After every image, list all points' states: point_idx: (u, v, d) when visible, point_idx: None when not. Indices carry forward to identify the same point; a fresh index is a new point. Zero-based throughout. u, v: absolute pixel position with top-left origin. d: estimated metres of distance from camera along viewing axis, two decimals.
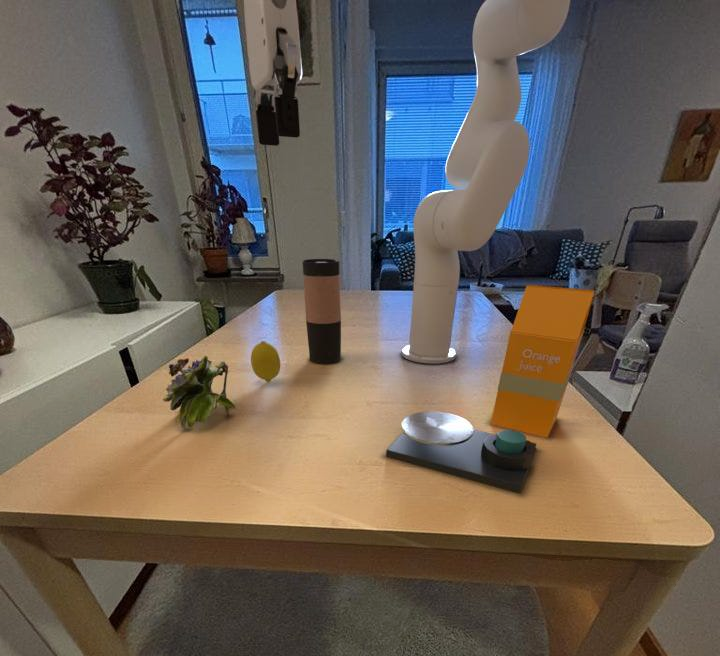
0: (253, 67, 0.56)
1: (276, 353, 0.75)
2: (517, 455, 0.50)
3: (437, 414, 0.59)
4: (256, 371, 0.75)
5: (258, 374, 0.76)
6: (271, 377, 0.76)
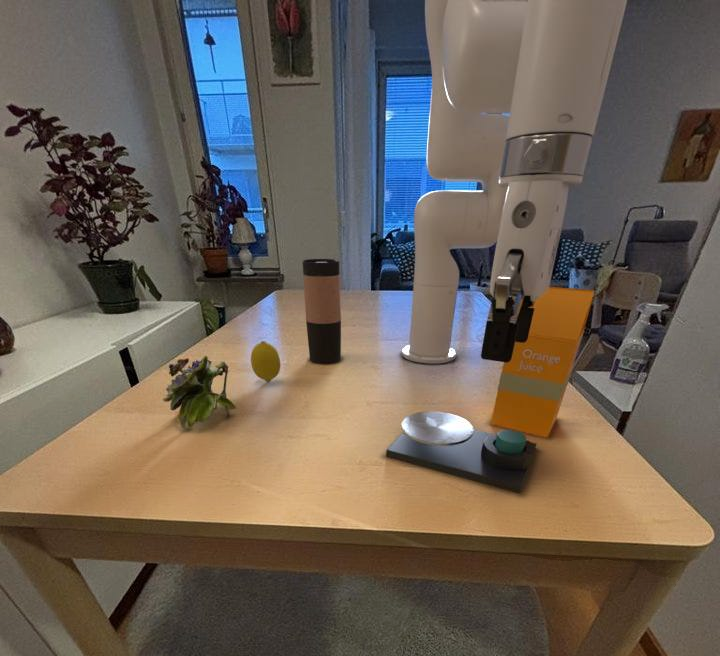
0: None
1: (276, 353, 0.75)
2: (517, 455, 0.50)
3: (437, 414, 0.59)
4: (256, 371, 0.75)
5: (258, 374, 0.76)
6: (271, 377, 0.76)
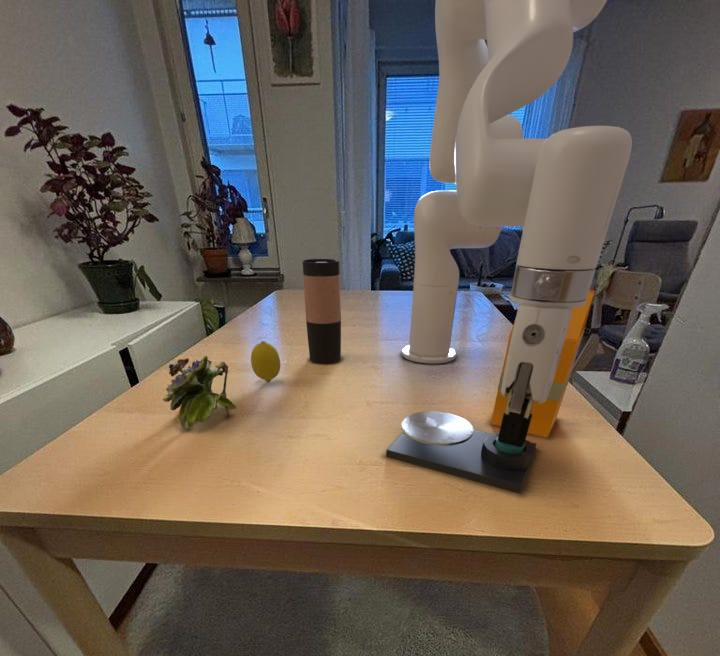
0: None
1: (276, 353, 0.75)
2: (517, 455, 0.50)
3: (437, 414, 0.59)
4: (256, 371, 0.75)
5: (258, 374, 0.76)
6: (271, 377, 0.76)
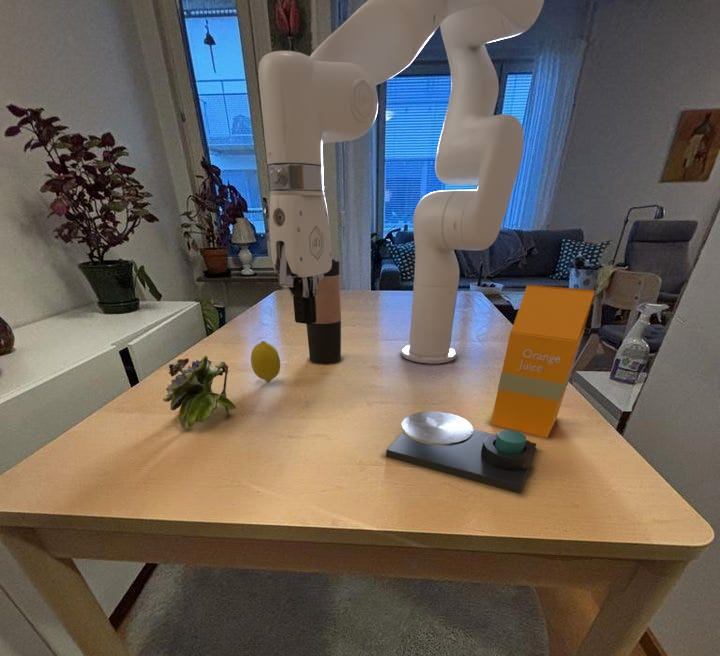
0: None
1: (276, 353, 0.75)
2: (517, 455, 0.50)
3: (437, 414, 0.59)
4: (256, 371, 0.75)
5: (258, 374, 0.76)
6: (271, 377, 0.76)
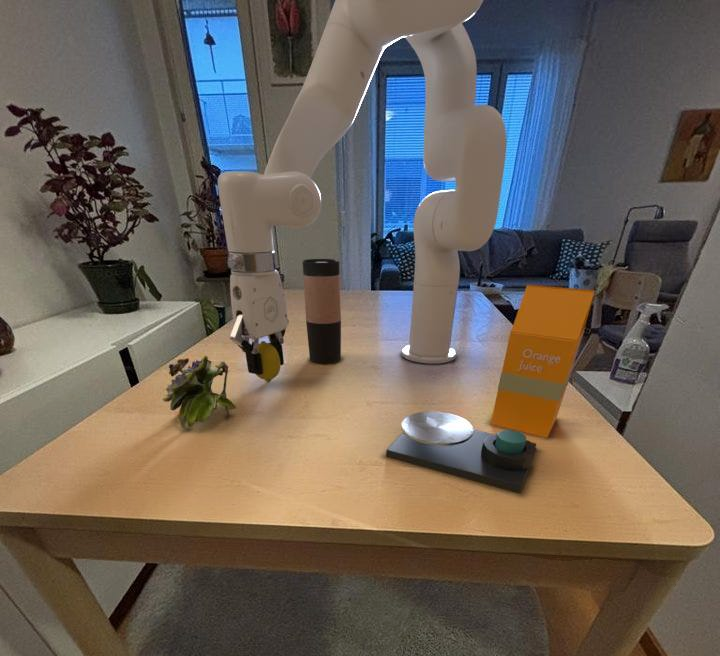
0: None
1: (276, 353, 0.75)
2: (517, 455, 0.50)
3: (437, 414, 0.59)
4: None
5: None
6: (271, 377, 0.76)
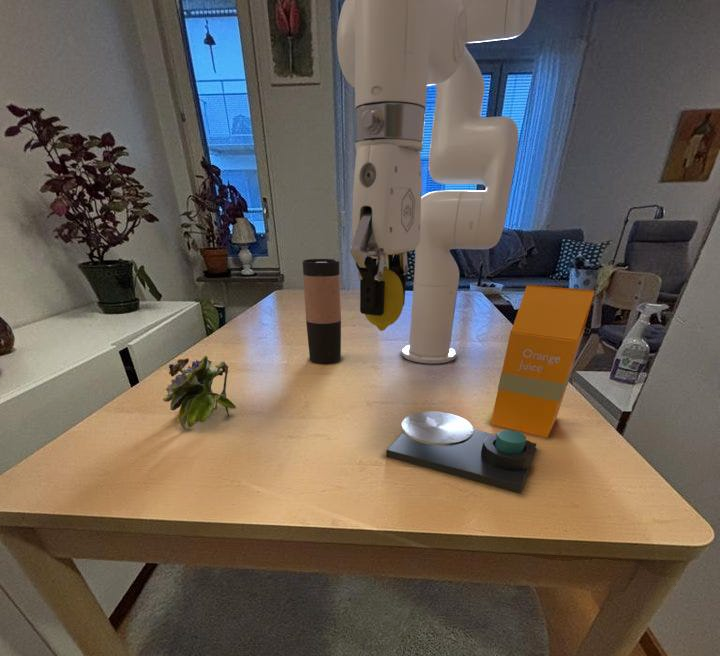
0: None
1: (401, 285, 0.51)
2: (517, 455, 0.50)
3: (437, 414, 0.59)
4: None
5: (373, 316, 0.52)
6: (390, 322, 0.53)
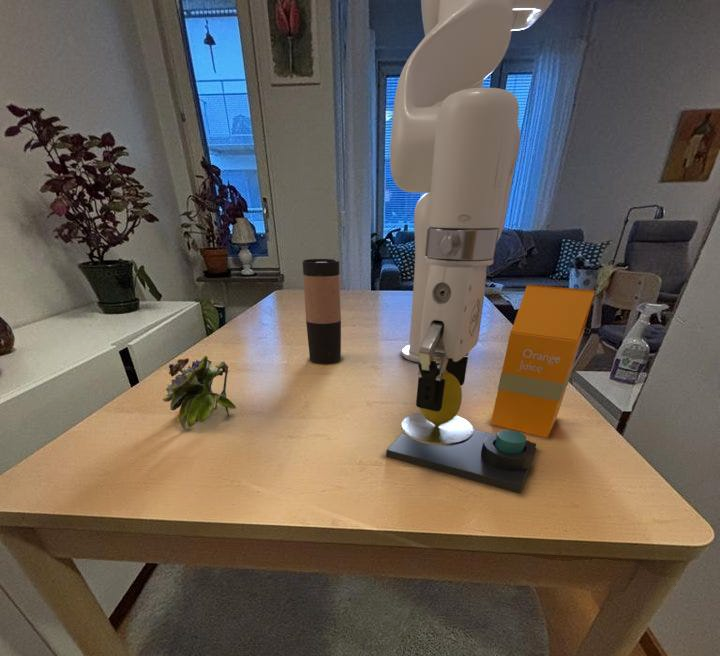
0: None
1: (460, 387, 0.52)
2: (517, 455, 0.50)
3: None
4: (431, 413, 0.52)
5: (432, 417, 0.52)
6: (448, 420, 0.53)
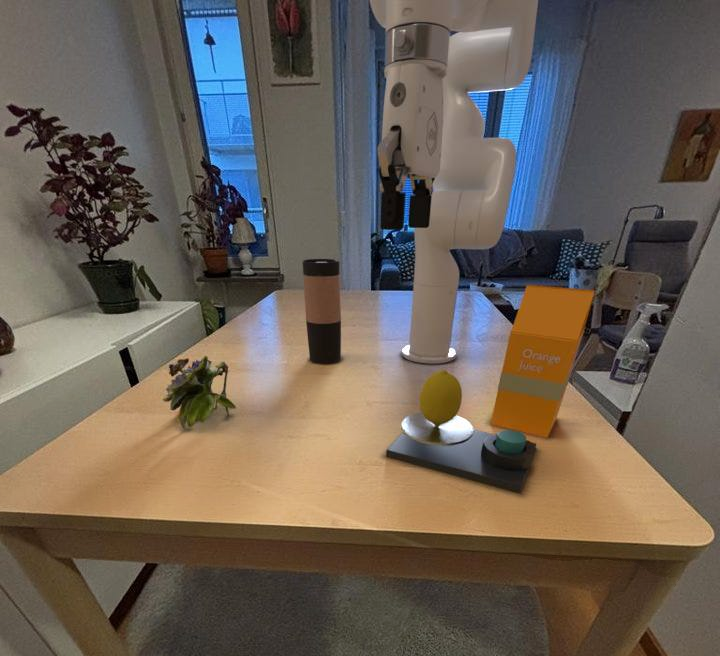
0: None
1: (460, 387, 0.52)
2: (517, 455, 0.50)
3: None
4: (431, 413, 0.52)
5: (432, 417, 0.52)
6: (448, 420, 0.53)
